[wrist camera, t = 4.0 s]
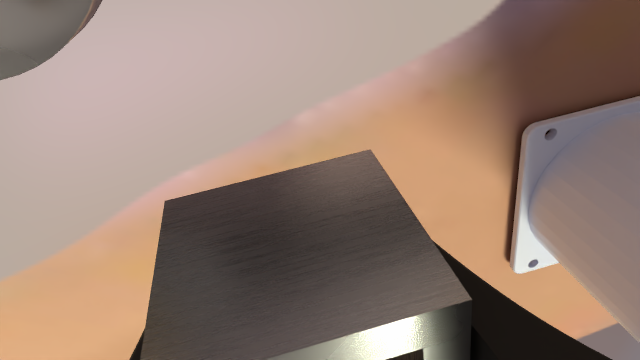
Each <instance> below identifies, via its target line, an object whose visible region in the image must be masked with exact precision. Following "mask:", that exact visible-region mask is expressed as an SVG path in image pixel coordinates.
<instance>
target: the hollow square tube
mask: <svg viewBox="0 0 640 360" xmlns="http://www.w3.org/2000/svg"><path fill="white" fill-rule="evenodd" d="M471 317H472V299H471V297H470V296H469V294H468V293H467V291H466V290H465V288H464V287H463V285H462V284H461V282H460V281H459V280H458V278H457V277H456V275H455V274H454V272H453V271H452V269H451V268H450V266H449V265H448V263H447V262H446V260H445V259H444V257H443V256H442V254H441V253H440V251H439V250H438V248H437V247H436V246H435V244H434V243H433V241H432V240H431V238H430V237H429V235H428V234H427V232H426V231H425V229H424V228H423V226H422V225H421V223H420V222H419V220H418V219H417V217H416V216H415V215H414V213H413V212H412V210H411V209H410V207H409V206H408V204H407V203H406V201H405V200H404V198H403V197H402V195H401V194H400V192H399V191H398V189H397V188H396V186H395V185H394V184H393V182H392V181H391V179H390V178H389V176H388V175H387V173H386V172H385V170H384V169H383V167H382V166H381V164H380V163H379V161H378V160H377V158H376V157H375V155H374V154H373V153H372V151H371V150H366V151H362V152H358V153H354V154H350V155H346V156H342V157H338V158H334V159H330V160H326V161H322V162H318V163H314V164H310V165H306V166H302V167H299V168H295V169H291V170H287V171H283V172H279V173H275V174H271V175H267V176H263V177H259V178H255V179H251V180H247V181H243V182H239V183H235V184H231V185H227V186H223V187H219V188H215V189H211V190H207V191H203V192H199V193H195V194H191V195H187V196H183V197H179V198H175V199H171V200H167V201H165V204H164V211H163V217H162V223H161V230H160V236H159V243H158V249H157V255H156V262H155V268H154V275H153V281H152V287H151V294H150V300H149V307H148V313H147V320H146V326H145V332H144V339H143V345H142V352H141V358H140V360H470V348H471Z"/></svg>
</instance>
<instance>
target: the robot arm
mask: <svg viewBox="0 0 640 360" xmlns="http://www.w3.org/2000/svg"><path fill="white" fill-rule="evenodd" d="M549 129H550V132H549V133H548V134H547V135H545V134H546V132H547V131H548V130H549ZM432 241H433V240H432ZM433 243H434V244H435V246H436V247H437V248H438V250H439V251H440V253H441V254H442V256H443V257H444V259H445V260H446V262H447V263H448V265H449V266H450V268H451V269H452V271H453V272H454V274H455V275H456V277H457V278H458V280H459V281H460V282H461V284H462V285H463V287H464V288H465V290H466V291H467V293H468V294H469V296H470V297H471V299H472V317H471V348H470V360H612V359H610V358H608V357H606V356H604V355H602V354H601V353H599V352H597V351H595V350H593V349H591V348H589V347H587V346H586V345H584V344H582V343H580V342H579V341H577V340H575V339H573V338H572V337H570V336H568V335H566V334H564V333H563V332H561V331H559V330H558V329H556V328H554V327H553V326H551V325H549V324H548V323H546V322H544V321H543V320H541V319H540V318H538V317H536V316H535V315H533V314H532V313H530V312H529V311H527V310H526V309H524V308H523V307H521V306H519V305H518V304H516V303H515V302H514V301H512V300H511V299H509V298H508V297H506V296H505V295H503V294H502V293H500V292H499V291H498V290H496V289H495V288H493V287H492V286H491V285H489V284H488V283H487V282H485V281H484V280H482V279H481V278H480V277H478V276H477V275H476V274H474V273H473V272H472V271H470V270H469V269H468V268H466V267H465V266H464V265H462V264H461V263H460V262H459V261H457V260H456V259H455V258H453V257H452V256H451V255H450V254H448V253H447V252H446V251H445V250H444V249H442V248H441V247H440V246H439V245H437V244H436V243H435V242H434V241H433ZM556 263H560V264H561V265H562V266H563V267H564V268H565V269H566V270H567V271H568V272H569V273H570V274H571V275H572V276H573V277H574V278H575V279H576V280H577V281H578V282H579V283H580V284H581V285H582V286H583V287H584V288H585V289H586V290H587V291H588V292H589V293H590V294H591V295H592V296H593V297H594V298H595V299H596V300H597V301H598V302H599V303H600V304H601V305H602V306H603V307H604V308H605V309H606V310H607V311H608V312H609V313H610V314H611V315H612V316H613V317H614V318H615V319H616V320H617V321H618V322H619V323H620V324H621V325H622V326H623V327H624V328H625V329H626V330H627V331H628V332H629V333H630V334H631V335H632V336H633V337H634V338H635V339H636V340H637V341H638V342H639V343H640V96H637V97H633V98H629V99H625V100H622V101H618V102H614V103H610V104H606V105H602V106H598V107H594V108H590V109H586V110H582V111H578V112H574V113H570V114H566V115H563V116H559V117H555V118H551V119H547V120H543V121H539V122H535V123H533V124H530V125H529V126H528V127H527V128H526V129H525V131H524V132H523V135H522V143H521V153H520V164H519V174H518V184H517V195H516V205H515V215H514V226H513V236H512V246H511V257H510V267H511V268H512V270H513V271H514V272H515V273H518V274H520V273H525V272H529V271H532V270H536V269H539V268H543V267H546V266H550V265H553V264H556ZM144 332H145V329H144V331H143V333H142V335H141V337H140V340H139V342H138V344H137V346H136V348H135V350H134V352H133V354H132V356H131V358H130V360H140V358H141V352H142V345H143V339H144Z"/></svg>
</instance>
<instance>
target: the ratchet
mask: <svg viewBox="0 0 640 360" xmlns="http://www.w3.org/2000/svg"><path fill="white" fill-rule="evenodd" d="M101 2H102V0H0V80H2V79H6V78H9V77H13V76H16V75H20V74H22V73H24V72H26V71H28V70H31V69H33V68H35V67H37V66H39V65H40V64H42V63H43V62H45V61H47V60H48V59H50V58H51V57H53V56H54V55H55V54H56V53H57V52H58V51H60V50H61V49H62V48H63V47H64V46H65V45H66V44H67V43H68V42H69V41H70V40H71V39H73V38H74V37H75V36H76V35H77V34H78V33H79V32H80V31H81V30H82V29H83V28H84V27H85V26H86V24H87V23H88V22H89V21H90V19H91V18H92V17H93V16H94V14H95V12H96V11H97V9H98V7H99V5H100V4H101Z"/></svg>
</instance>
